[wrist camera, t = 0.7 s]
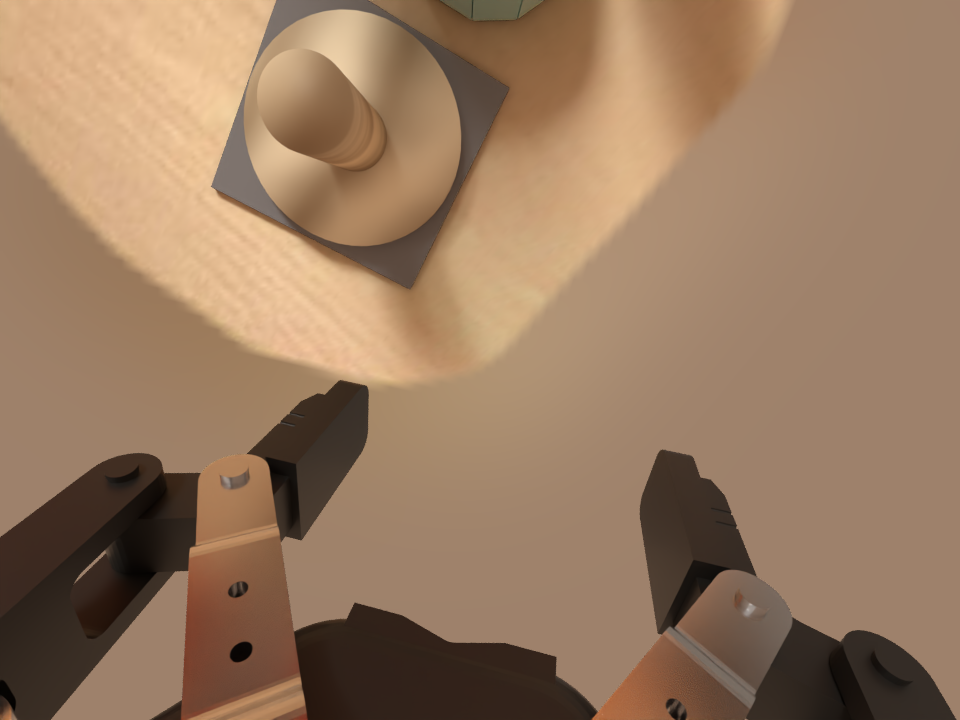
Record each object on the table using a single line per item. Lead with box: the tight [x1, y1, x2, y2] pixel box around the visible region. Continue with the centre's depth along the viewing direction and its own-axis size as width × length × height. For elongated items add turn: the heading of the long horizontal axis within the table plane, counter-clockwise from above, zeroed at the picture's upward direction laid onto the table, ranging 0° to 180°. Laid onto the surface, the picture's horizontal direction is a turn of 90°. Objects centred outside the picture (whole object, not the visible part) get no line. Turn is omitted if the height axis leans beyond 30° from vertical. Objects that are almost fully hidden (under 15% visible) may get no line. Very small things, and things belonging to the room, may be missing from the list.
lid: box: [244, 9, 461, 246], centre depth 25 cm, size 13×13×10 cm
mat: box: [211, 0, 509, 289], centre depth 30 cm, size 14×14×1 cm
